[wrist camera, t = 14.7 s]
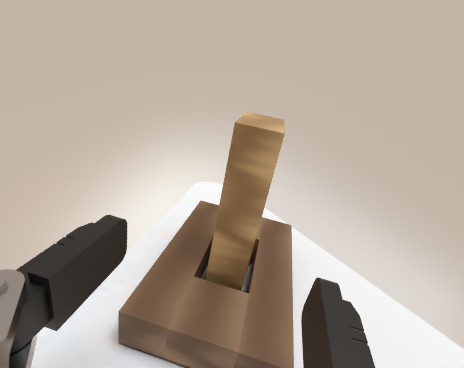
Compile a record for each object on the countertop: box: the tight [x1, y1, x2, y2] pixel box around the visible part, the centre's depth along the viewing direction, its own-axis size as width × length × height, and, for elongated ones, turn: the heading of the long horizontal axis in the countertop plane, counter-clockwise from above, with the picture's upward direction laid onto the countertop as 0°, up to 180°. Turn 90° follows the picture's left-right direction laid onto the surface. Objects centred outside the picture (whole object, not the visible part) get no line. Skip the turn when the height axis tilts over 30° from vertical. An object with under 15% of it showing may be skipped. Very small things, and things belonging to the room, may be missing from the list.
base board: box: [119, 201, 294, 368], centre depth 23 cm, size 11×16×3 cm
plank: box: [205, 112, 285, 291], centre depth 20 cm, size 3×6×15 cm, turn 169°
